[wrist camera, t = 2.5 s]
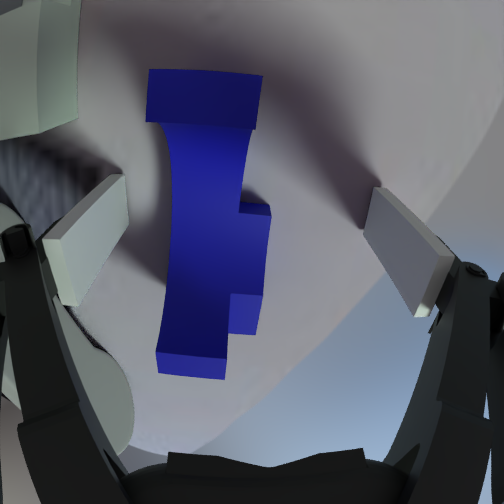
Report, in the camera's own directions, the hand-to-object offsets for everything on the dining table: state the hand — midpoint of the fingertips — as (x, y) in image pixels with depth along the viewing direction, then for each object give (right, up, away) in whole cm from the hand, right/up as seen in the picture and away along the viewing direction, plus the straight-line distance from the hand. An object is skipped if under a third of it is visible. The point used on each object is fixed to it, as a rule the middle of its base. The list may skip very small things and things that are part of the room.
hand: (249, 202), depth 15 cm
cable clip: (-1, 0, 0) cm, 1 cm away
